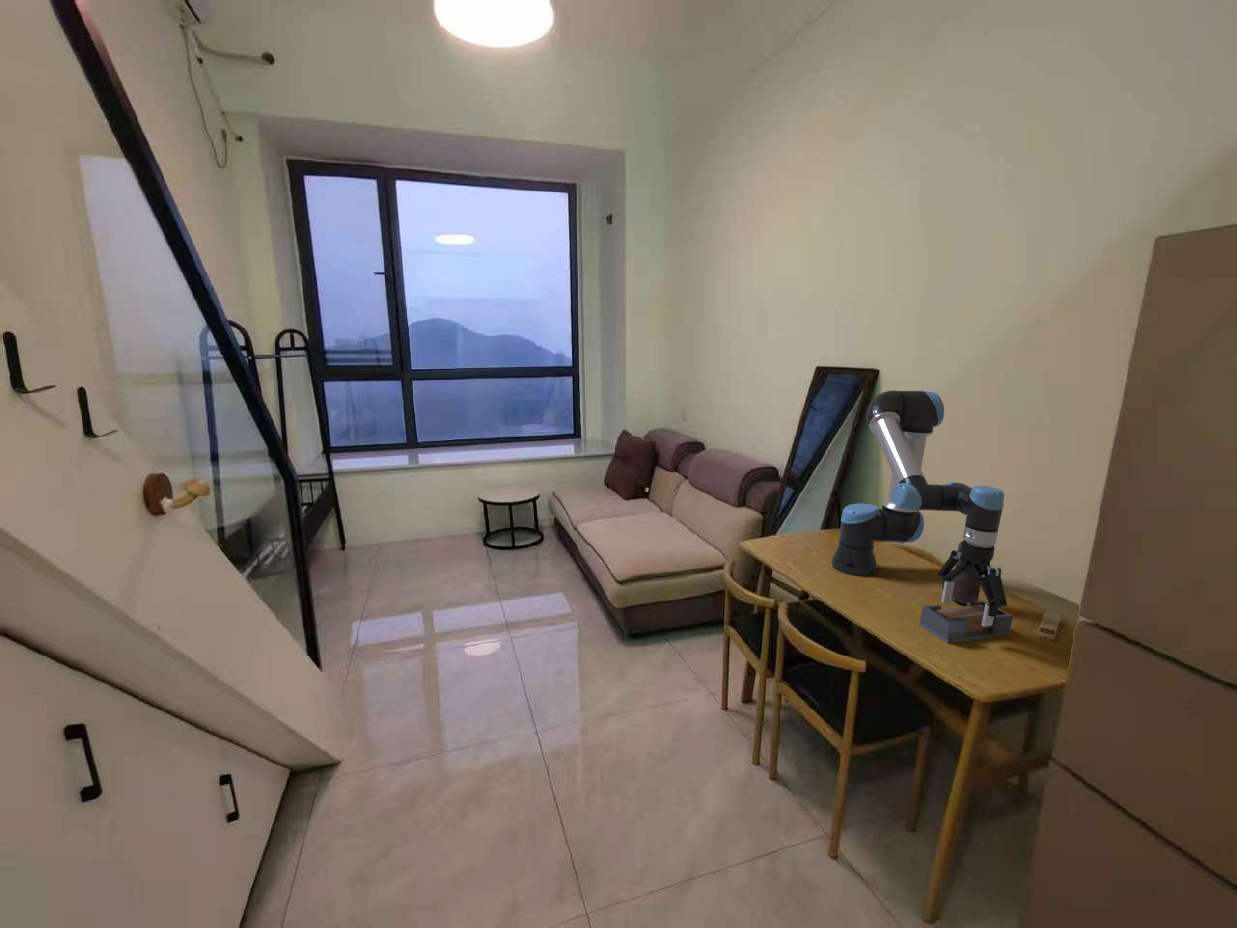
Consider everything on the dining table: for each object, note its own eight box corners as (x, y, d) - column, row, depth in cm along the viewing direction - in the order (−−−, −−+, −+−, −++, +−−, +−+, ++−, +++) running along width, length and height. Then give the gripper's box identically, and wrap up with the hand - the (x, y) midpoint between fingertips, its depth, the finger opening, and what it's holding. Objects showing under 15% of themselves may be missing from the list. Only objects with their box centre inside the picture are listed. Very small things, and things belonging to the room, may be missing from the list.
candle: (963, 608, 164) (974, 547, 160) (943, 598, 171) (953, 539, 166) (983, 606, 166) (993, 545, 162) (962, 595, 173) (972, 537, 168)
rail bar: (934, 626, 150) (936, 609, 149) (978, 620, 155) (981, 604, 154) (949, 635, 146) (951, 618, 145) (994, 628, 150) (997, 612, 149)
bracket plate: (919, 624, 153) (921, 605, 152) (979, 618, 158) (982, 599, 156) (947, 643, 143) (950, 622, 142) (1010, 635, 148) (1013, 616, 147)
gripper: (931, 528, 156) (920, 594, 161) (1009, 561, 133) (994, 638, 137) (952, 526, 158) (941, 592, 163) (1033, 559, 134) (1017, 635, 139)
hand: (965, 613), depth 150 cm, fingers open, 13 cm apart
